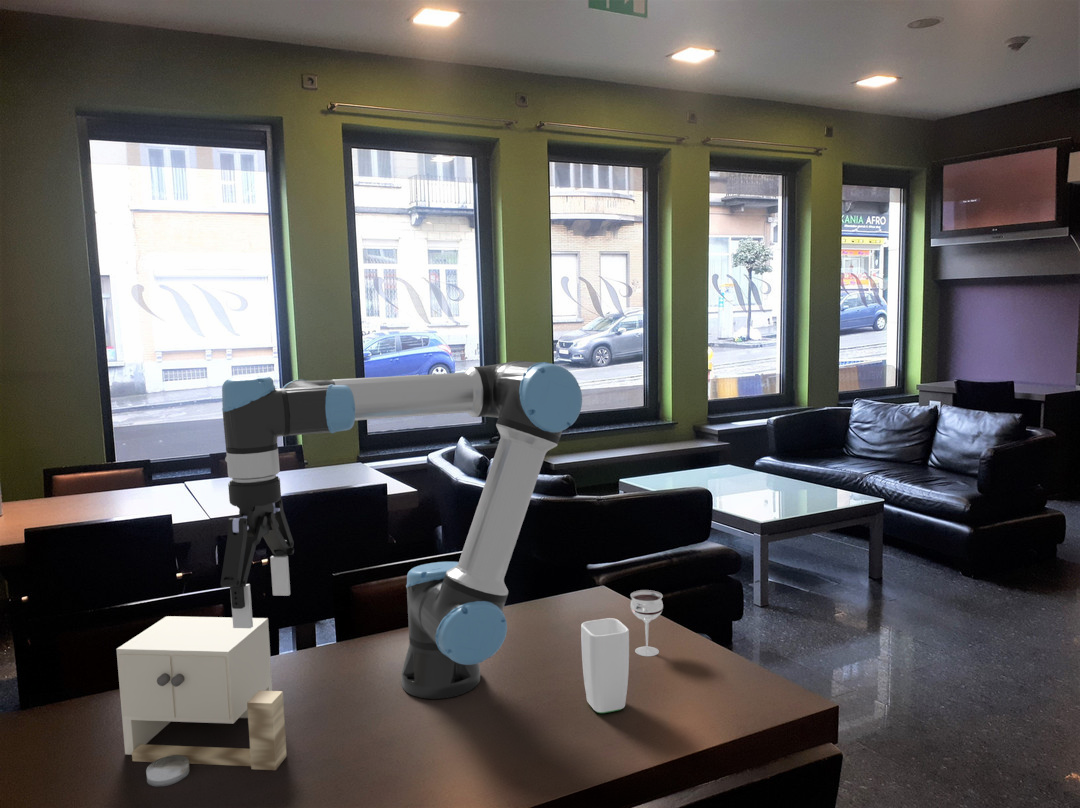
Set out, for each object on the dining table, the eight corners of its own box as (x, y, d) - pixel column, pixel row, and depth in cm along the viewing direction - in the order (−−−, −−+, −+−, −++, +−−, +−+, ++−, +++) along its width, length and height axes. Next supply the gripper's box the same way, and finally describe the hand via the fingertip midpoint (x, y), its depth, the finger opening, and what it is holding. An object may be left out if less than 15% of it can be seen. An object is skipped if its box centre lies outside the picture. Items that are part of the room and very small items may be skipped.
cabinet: (273, 715, 140) (267, 618, 138) (231, 764, 125) (223, 655, 123) (173, 711, 142) (166, 616, 141) (119, 759, 127) (110, 652, 125)
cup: (632, 712, 139) (632, 631, 137) (594, 719, 136) (593, 637, 135) (616, 694, 146) (615, 616, 144) (579, 700, 143) (578, 622, 142)
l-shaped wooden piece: (286, 756, 127) (282, 691, 126) (275, 770, 123) (271, 703, 122) (144, 750, 130) (139, 686, 129) (129, 763, 126) (123, 698, 125)
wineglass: (640, 641, 169) (639, 587, 167) (669, 649, 165) (668, 593, 163) (624, 653, 163) (624, 597, 162) (653, 660, 159) (653, 603, 158)
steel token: (197, 767, 125) (196, 757, 125) (172, 789, 119) (171, 778, 119) (164, 764, 126) (163, 753, 126) (138, 785, 120) (137, 774, 120)
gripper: (266, 462, 134) (274, 583, 136) (187, 496, 109) (199, 642, 111) (308, 461, 133) (316, 583, 135) (238, 495, 108) (249, 643, 111)
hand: (263, 610), depth 123 cm, fingers open, 13 cm apart
